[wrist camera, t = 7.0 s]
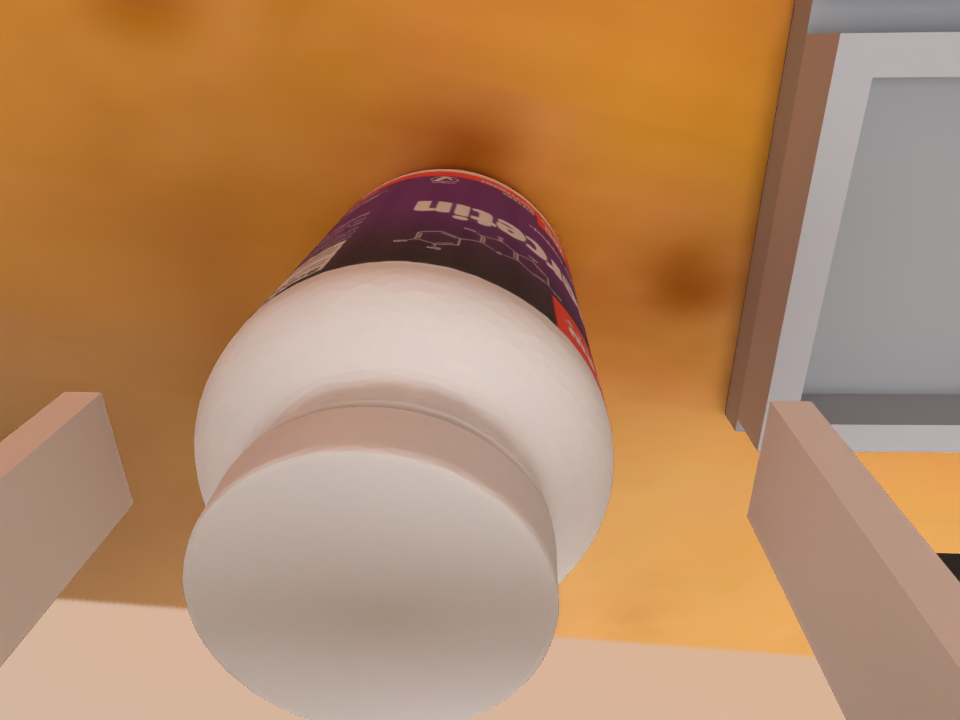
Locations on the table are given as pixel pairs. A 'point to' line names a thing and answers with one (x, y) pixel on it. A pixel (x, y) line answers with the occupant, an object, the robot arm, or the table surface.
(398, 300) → the pill bottle
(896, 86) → the grey compartment tray
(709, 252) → the table surface
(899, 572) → the robot arm
